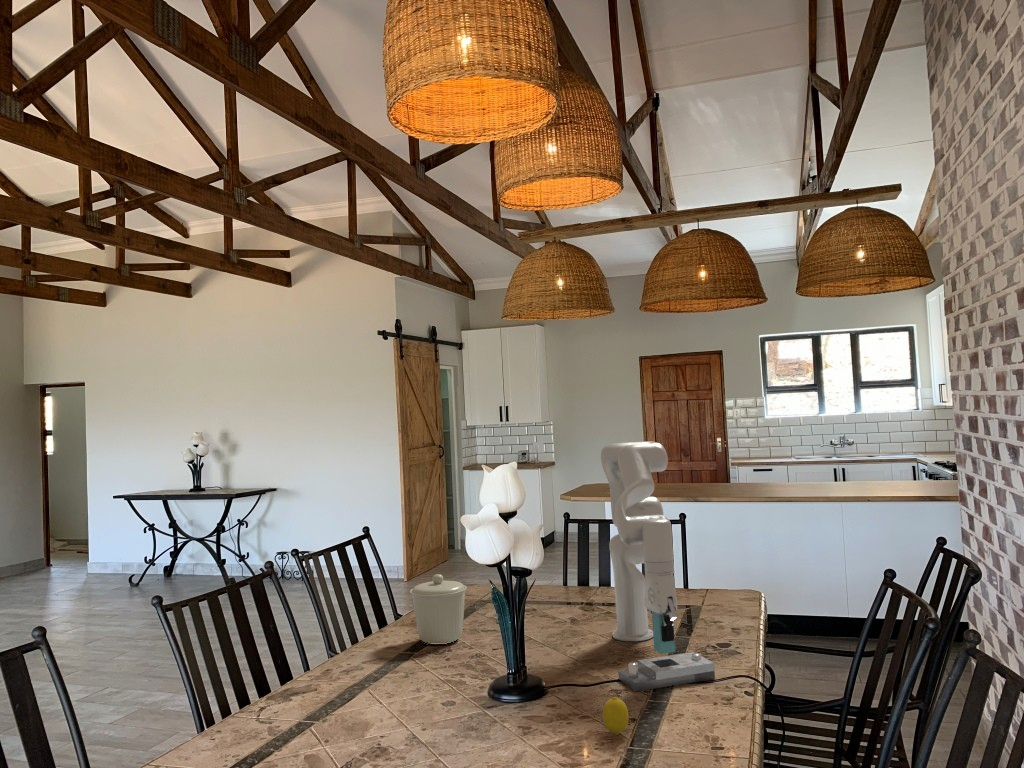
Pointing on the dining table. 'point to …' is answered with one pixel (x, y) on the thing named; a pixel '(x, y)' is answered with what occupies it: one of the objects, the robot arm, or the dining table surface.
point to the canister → (439, 609)
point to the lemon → (615, 715)
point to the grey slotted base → (667, 671)
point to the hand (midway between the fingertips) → (663, 638)
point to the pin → (657, 635)
